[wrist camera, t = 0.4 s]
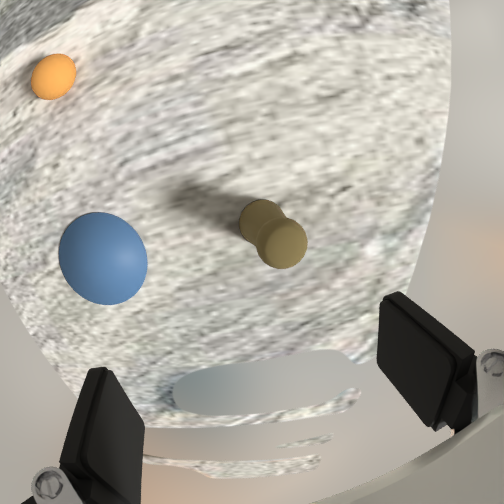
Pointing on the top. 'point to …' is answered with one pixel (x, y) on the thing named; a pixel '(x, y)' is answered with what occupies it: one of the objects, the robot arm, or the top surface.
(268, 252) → the olive chess pawn
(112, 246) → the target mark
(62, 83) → the ball
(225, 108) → the top surface
